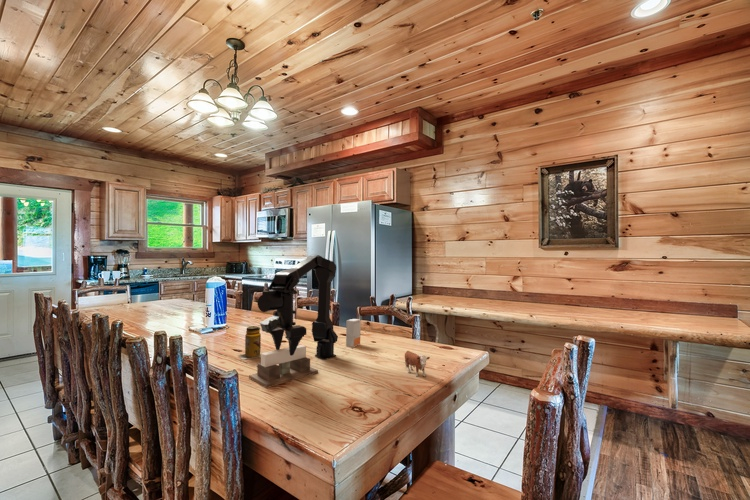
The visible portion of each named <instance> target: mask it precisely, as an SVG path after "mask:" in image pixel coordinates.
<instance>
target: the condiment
mask: <svg viewBox="0 0 750 500" xmlns="http://www.w3.org/2000/svg"><path fill="white" fill-rule="evenodd" d="M260 332H261V326H257V325H256V326H255V325H252V326H248V327H246V332H245V339H244V340H245V341H244V342H245V343H244V345H245V346H244V351H245V353H244V354H238V355H237V356H238V357H239V359H240V360H241V361H242V360H243V361H244V360H250V359H259V358H261V343H262V342H261V339H262V337H261V335H262V334H261V333H260Z"/></svg>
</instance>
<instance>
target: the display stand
mask: <svg viewBox="0 0 750 500" xmlns="http://www.w3.org/2000/svg"><path fill="white" fill-rule="evenodd" d="M318 373H319V370H318V369H316V368H314V367H311V358H309V357H307V356H306V357H305V358H301V359H297V360H293V361H289V362H285V363H280V364H276V365H272V366H268V367H264V366H262V365H261V362H258V363H257V373H252V374H249V375H248V379H250V380H252V381H254V382H255V383H256V384H258V385H260V386H262V387H264V388H265V389H266V388H267V389H268V388H271V387H274V386H276V385H277V386H278V385H280V384H284V383H287V382H291V381H294V380H299V379H301V378H305V377H309V376H312V375H314V374H318Z"/></svg>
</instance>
